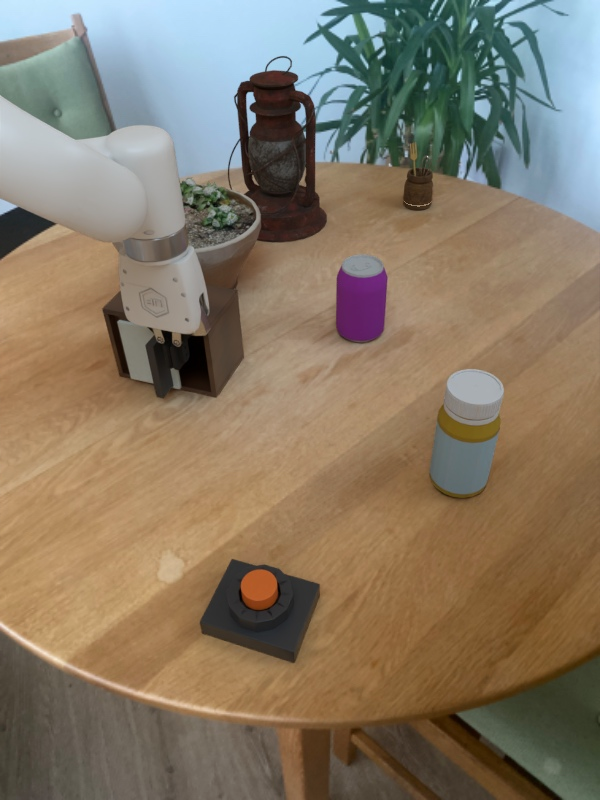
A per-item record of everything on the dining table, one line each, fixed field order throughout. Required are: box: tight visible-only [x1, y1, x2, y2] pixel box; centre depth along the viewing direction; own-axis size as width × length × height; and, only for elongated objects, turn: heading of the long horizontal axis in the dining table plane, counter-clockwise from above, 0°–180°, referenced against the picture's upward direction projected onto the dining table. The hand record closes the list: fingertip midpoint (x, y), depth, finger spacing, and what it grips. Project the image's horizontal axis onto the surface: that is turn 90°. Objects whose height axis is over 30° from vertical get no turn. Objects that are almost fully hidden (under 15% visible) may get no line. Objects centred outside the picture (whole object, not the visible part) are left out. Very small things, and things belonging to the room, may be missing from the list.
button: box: [241, 569, 278, 610], centre depth 67 cm, size 4×4×2 cm
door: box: [117, 320, 182, 399], centre depth 93 cm, size 4×8×10 cm, turn 71°
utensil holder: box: [402, 141, 434, 211], centre depth 138 cm, size 6×6×12 cm
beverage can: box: [335, 253, 389, 343], centre depth 104 cm, size 8×8×12 cm
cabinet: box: [101, 284, 245, 398], centre depth 98 cm, size 10×16×12 cm, turn 71°
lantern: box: [227, 55, 328, 243], centre depth 128 cm, size 19×19×30 cm
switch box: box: [199, 558, 321, 664], centre depth 69 cm, size 10×8×4 cm
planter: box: [111, 177, 261, 290], centre depth 115 cm, size 26×25×15 cm
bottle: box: [428, 368, 505, 499], centre depth 78 cm, size 7×7×15 cm
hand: (178, 363), depth 91 cm, fingers closed
